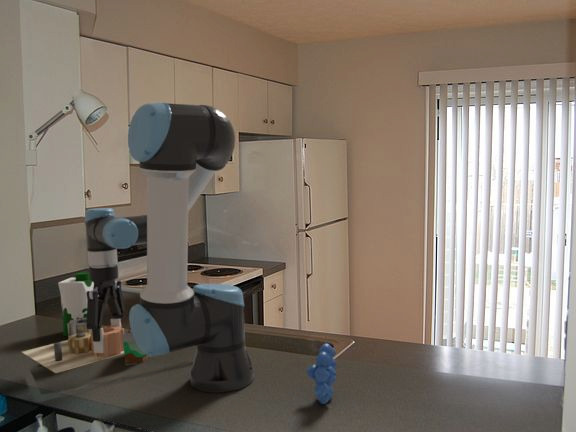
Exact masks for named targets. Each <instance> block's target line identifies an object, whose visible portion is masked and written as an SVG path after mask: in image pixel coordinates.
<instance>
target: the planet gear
mask: <svg viewBox="0 0 576 432" xmlns="http://www.w3.org/2000/svg"><path fill="white" fill-rule="evenodd" d="M101 328H103V333H104V348H105V352H104V353H94V344H93V333H92V331H91V344H92V353H94V356H104V357H109V356H110V355H115V354H116V355H118V354H121V351H124V346H123V342H122V334H123V333H125V328H123V326H122V325H121V326H111V325H107V326H103V327H102V326H101ZM118 356H119V355H118Z"/></svg>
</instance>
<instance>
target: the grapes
mask: <svg viewBox="0 0 576 432" xmlns="http://www.w3.org/2000/svg"><path fill="white" fill-rule="evenodd" d="M318 352H319V354H318V355H317V356H316V358H315V361H316V364H315V363H314V364H311V365H310V366H309V367H307V370H306V373H307V375H308V377H309V379H311V380H313V381H314V382H315V387H314V388H313V390H314V392H315V395H316V398H317V400H318V402H319V403H320V404H323V405H326V404H327V403H328V402H329V401H330V399H331V398H332V396H333V394H335V391H334V389H333V387H332V385H334V383H335V382H336V381H337V378H336V375H337V371H336V369H335V368H336V367H337V365H338V364H337V362H336V360H335V359H334V357H335V356H336V354H337V352H336V351H335V349H334V348H333V346H331V344H330V343H327V342H326V343H324V344H322V345H321V347H319V349H318Z"/></svg>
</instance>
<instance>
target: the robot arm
mask: <svg viewBox="0 0 576 432" xmlns="http://www.w3.org/2000/svg"><path fill="white" fill-rule="evenodd" d="M127 145H128V146H127V147H128V148H129V153H130V154H129V155H130V156H131V157H132V159H134V161H137V162H138V163H139V170H140V171H141V172H142V173H143V174H144V176H146V214H145V215H144V214H142V215H131V216H122V217H116V215H115V210H114V209H113V208H111V207H98V208H97V207H95V208H89V209H87V210H86V211H85V214H84V217H85V219H84V220H85V221H84V226H85V236H86V247H87V250H86V251H87V262H88V265H89V268H88V272H89V280H90V281H92V282H93V283H94V287H93V290H92V291H87V300H88V301H87V324H86V328H87V329H92V333H93V344H94V353H104V352H105V348H104V333H103V328H102V324H103V319H104V318H103V317H104V312H105V307H106V304H107V305H108V309H109V312H110V314H111V316H112V318H110V326H122V319H124V318H125V316H126V314H125V313H126V308H125V302H124V297H123V290H122V281H121V280H117V279H118V278H119V266H118V265H117V264H118V250H120V249H128V248H131V247H132V246H136V245H137V246H138V245H146V285H145V287H144V288H143V289H142V290H141V291H140V292H139V303H136V304H134V305H133V306H132V307H131V308H130V310H129V315H128V317H129V318H128V320H129V326H130V328H131V331H132V334H133V337H134V339H135V341H136V343H137V345H138V347H139V348H140V349H141V351H142V352H143V353H145V354H146V355H148V356H151V357H156V356H157V357H158V356H161V355H169V354H170V353H174V352H177V351H180V350H184V349H188V348H192V347H195V349H196V351H195V355H194V359H193V363H192V368H191V371H190V375H189V377H190V385H191V387H193V388H194V389H196V390H199V391H201V392H206V393H207V392H208V393H224V392H225V393H227V392H233V391H237V390H240V389H243V388H245V387H247V386H249V385H250V384H251V383H252V382H253V381H254V380H255V379H254V378H255V374H254V372H255V370H254V366H253V363H252V361H251V358H250V356H249V353H248V350H247V348H246V332H245V331H246V328H245V309H244V308H245V300H244V293H243V290H242V289H241V288H239V287H238V286H235V285H230V284H224V283H198V284H196V285H195V284H194V286H193V289H192V288H191V287H190V286H189V285H188V263H189V262H188V259H189V258H188V252H189V248H188V247H189V242H188V241H189V212H190V211H191V209H192V208H193V206H194V205H195V203H196V202H197V200H198V199H199V197H200V195H201V194H202V193H203V192H204V190H205V189H206V187H207V185H208V184H209V183H210V182H211V180H212V178H213V177H214V175H215V174H216V172H219V171H222V170H223V169H224V168H225V167H226V165H227V164H228V163H229V162H230V160H231V157H232V156H233V153H234V150H235V145H236V135H235V129H234V126H233V124H232V122H231V120H230V119H229V118H228V117H227V115H226V114H225V112H224V113H223V112H222V110H220V109H218V108H217V107H215V106H212V105H206V104H198V105H197V104H185V103H184V104H183V103H167V102H156V103H155V102H154V103H152V102H151V103H150V102H149V103H145V104H143V105H141V106H139V107H138V108H137V109H136V111H135V112H134V114H133V116H132V117H131V120H130V122H129V127H128V133H127ZM97 324H98V325H97Z"/></svg>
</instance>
